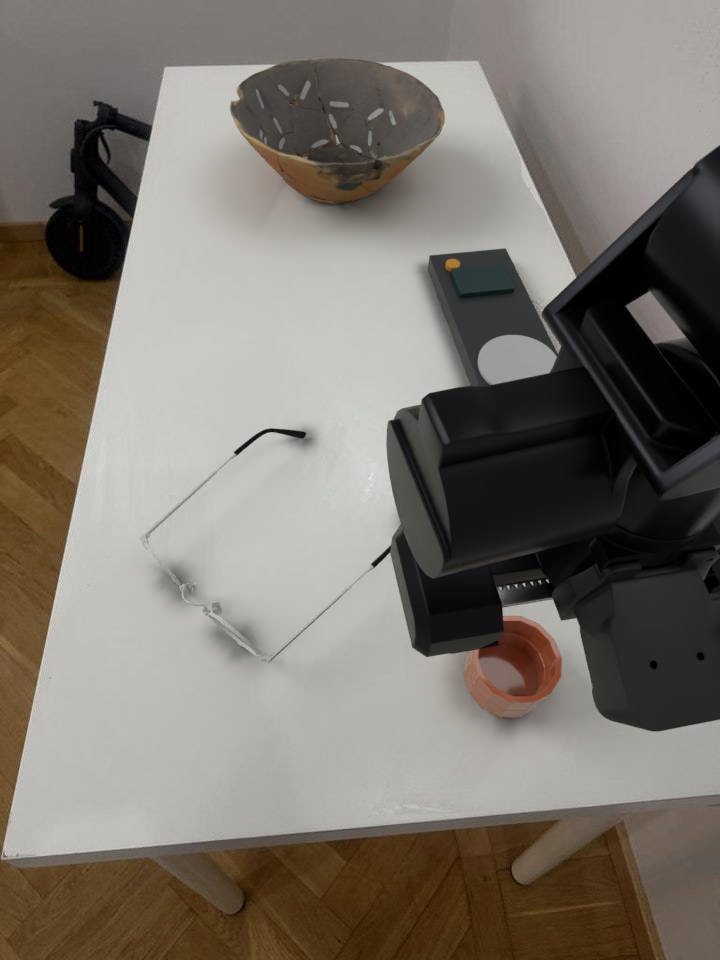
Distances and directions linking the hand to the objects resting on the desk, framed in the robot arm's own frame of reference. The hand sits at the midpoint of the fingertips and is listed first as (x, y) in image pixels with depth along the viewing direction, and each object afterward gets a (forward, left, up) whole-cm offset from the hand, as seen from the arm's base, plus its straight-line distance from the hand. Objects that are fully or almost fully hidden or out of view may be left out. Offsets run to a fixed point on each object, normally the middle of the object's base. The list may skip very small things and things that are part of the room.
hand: (541, 622), depth 38 cm
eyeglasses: (+19, -7, -11) cm, 23 cm away
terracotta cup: (0, 0, -11) cm, 11 cm away
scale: (+4, -36, -11) cm, 38 cm away
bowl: (+27, -59, -11) cm, 66 cm away
